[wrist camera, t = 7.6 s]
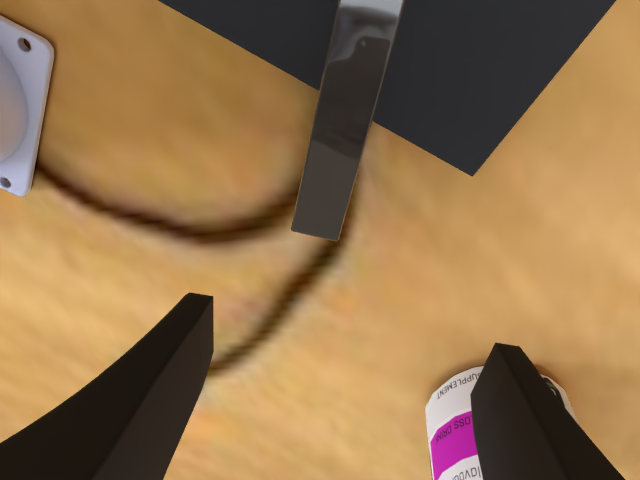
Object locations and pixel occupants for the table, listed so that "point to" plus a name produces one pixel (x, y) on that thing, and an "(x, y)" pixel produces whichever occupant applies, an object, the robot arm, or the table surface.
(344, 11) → the pot
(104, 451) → the robot arm
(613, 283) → the table surface
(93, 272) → the table surface
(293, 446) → the table surface
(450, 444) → the supplement can
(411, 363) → the table surface
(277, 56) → the desk mat
